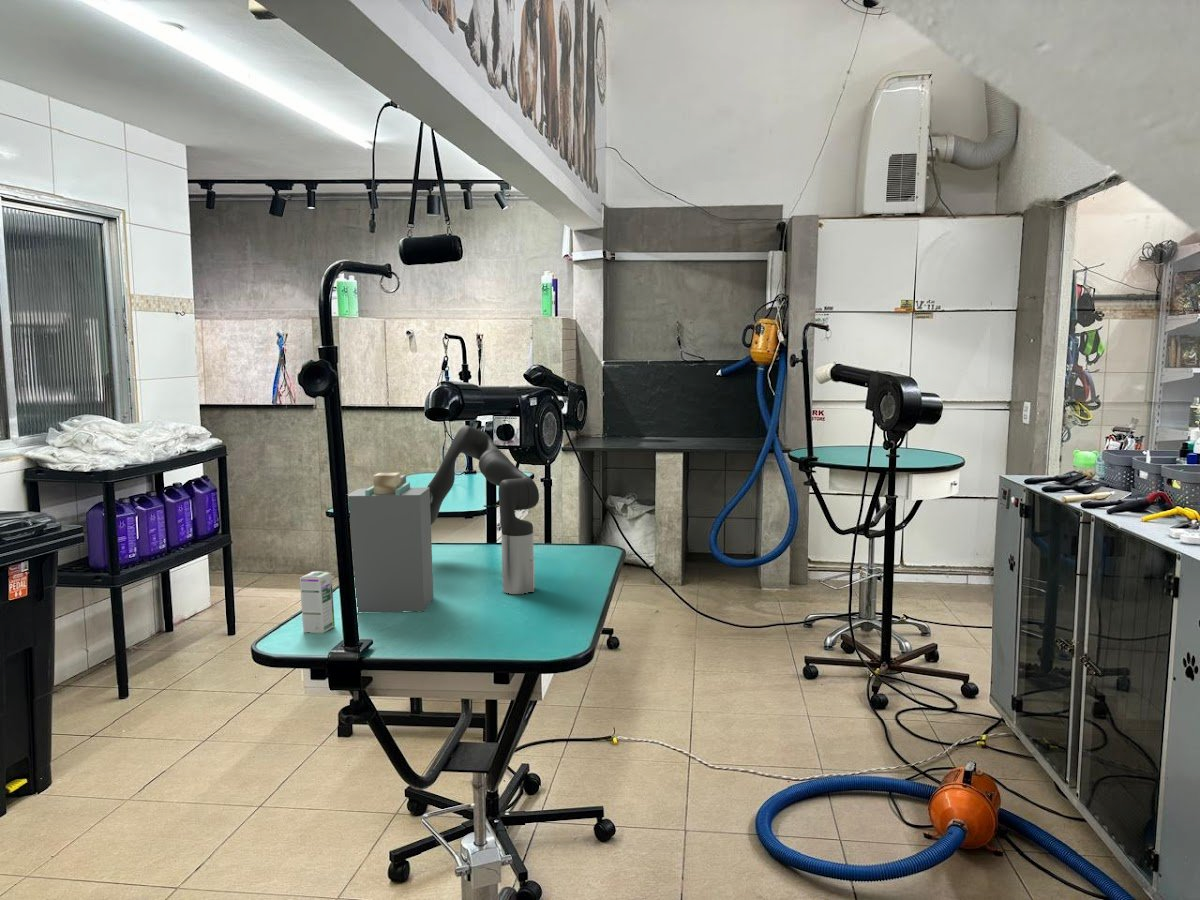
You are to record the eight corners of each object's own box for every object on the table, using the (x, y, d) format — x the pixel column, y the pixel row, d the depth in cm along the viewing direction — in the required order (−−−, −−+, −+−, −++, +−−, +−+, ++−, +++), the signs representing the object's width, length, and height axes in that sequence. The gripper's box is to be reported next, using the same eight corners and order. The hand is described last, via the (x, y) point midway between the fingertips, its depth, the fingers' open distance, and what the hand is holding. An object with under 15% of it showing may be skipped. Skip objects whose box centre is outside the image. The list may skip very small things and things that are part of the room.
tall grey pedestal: (433, 597, 243) (429, 482, 240) (424, 611, 229) (419, 489, 226) (363, 598, 243) (358, 483, 240) (349, 613, 229) (344, 490, 226)
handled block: (411, 483, 249) (410, 466, 248) (396, 493, 229) (395, 475, 228) (390, 483, 249) (390, 466, 248) (373, 494, 229) (373, 475, 228)
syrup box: (323, 633, 212) (320, 576, 210) (302, 632, 213) (299, 576, 211) (335, 626, 217) (332, 571, 216) (314, 625, 218) (311, 570, 217)
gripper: (392, 491, 275) (381, 480, 259) (436, 491, 276) (428, 480, 260) (391, 514, 273) (380, 505, 258) (435, 514, 274) (427, 504, 258)
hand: (404, 492), depth 259 cm, fingers open, 8 cm apart
